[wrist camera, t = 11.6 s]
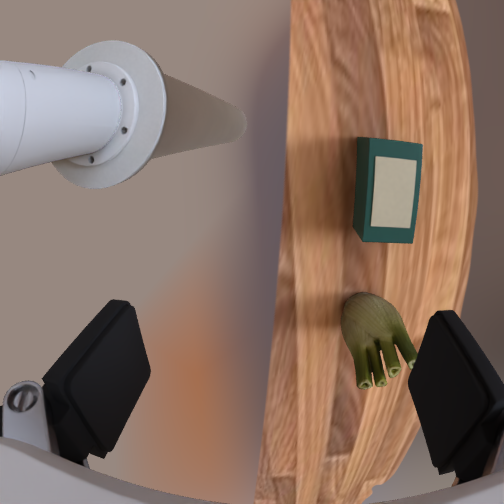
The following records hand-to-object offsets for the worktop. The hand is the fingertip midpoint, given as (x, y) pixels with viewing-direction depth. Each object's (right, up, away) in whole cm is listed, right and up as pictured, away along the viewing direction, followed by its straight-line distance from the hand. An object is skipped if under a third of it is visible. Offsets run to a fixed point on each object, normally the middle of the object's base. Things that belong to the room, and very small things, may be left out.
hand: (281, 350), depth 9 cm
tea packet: (+12, +10, +19) cm, 24 cm away
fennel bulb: (+12, -3, +24) cm, 27 cm away
